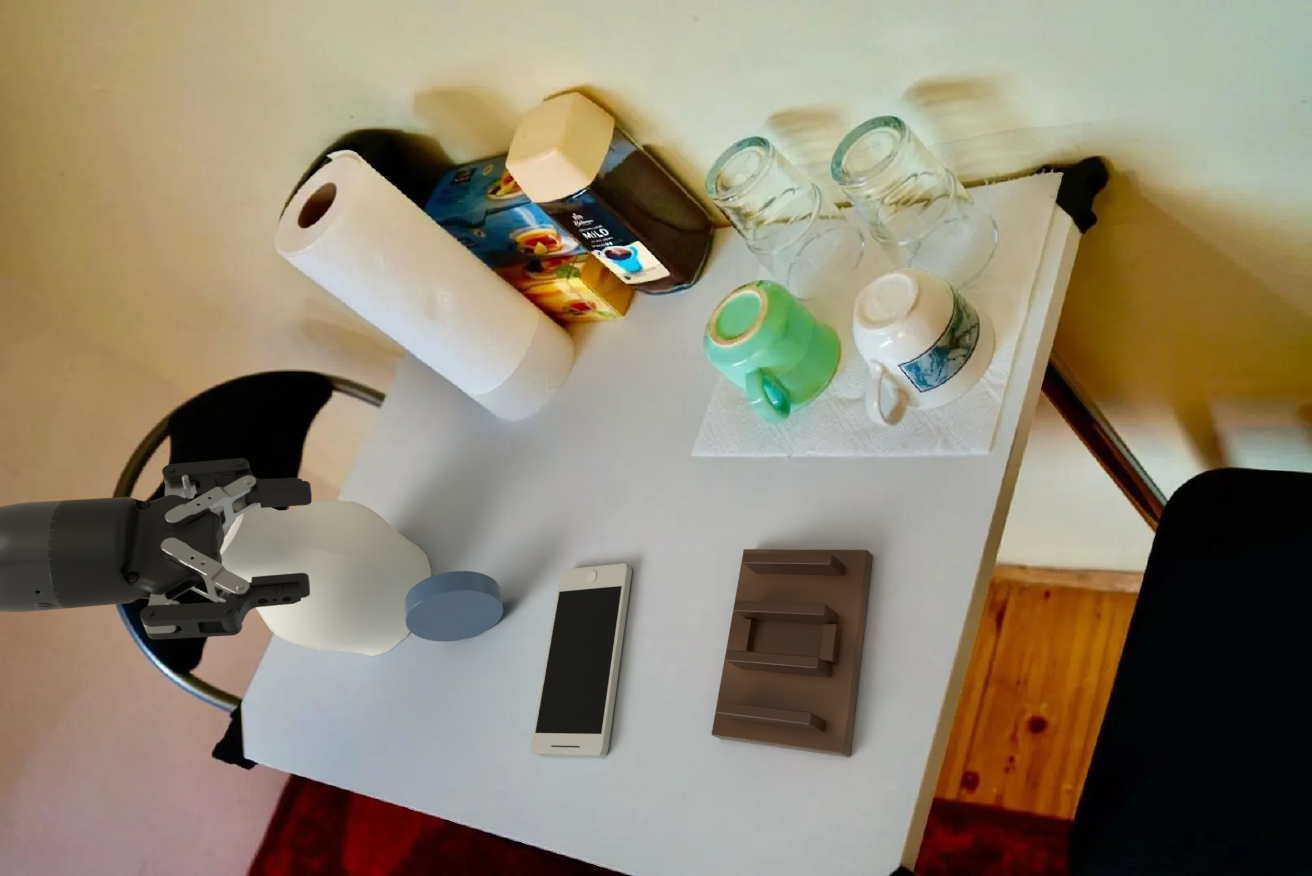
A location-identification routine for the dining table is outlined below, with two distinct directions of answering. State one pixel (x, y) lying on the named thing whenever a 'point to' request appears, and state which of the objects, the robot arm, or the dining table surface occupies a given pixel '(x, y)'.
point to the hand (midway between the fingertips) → (310, 536)
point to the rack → (795, 650)
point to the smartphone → (582, 662)
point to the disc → (453, 606)
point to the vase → (330, 572)
